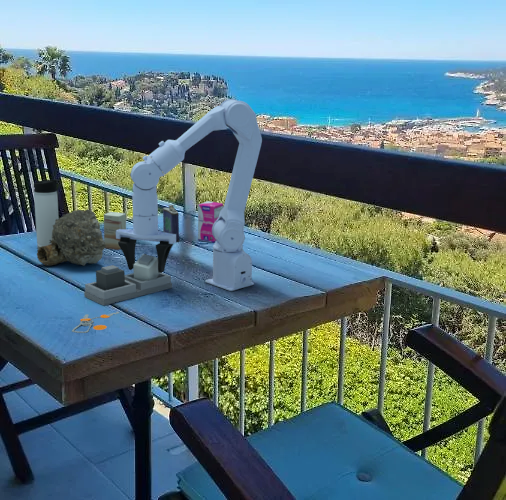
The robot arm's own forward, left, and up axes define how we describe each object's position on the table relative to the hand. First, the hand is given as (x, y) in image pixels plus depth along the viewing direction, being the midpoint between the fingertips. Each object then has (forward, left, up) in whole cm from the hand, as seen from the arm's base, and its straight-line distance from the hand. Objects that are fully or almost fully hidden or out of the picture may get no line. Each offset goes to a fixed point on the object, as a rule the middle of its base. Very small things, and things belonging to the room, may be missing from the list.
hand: (146, 270), depth 160 cm
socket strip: (0, +5, -4) cm, 7 cm away
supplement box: (+25, -42, -5) cm, 49 cm away
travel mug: (+47, 0, -5) cm, 47 cm away
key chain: (-11, +21, -5) cm, 24 cm away
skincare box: (+36, -15, -5) cm, 39 cm away
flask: (+34, -34, -5) cm, 48 cm away
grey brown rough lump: (+30, +3, -5) cm, 30 cm away
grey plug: (0, 0, -2) cm, 2 cm away
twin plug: (0, +10, -3) cm, 10 cm away
